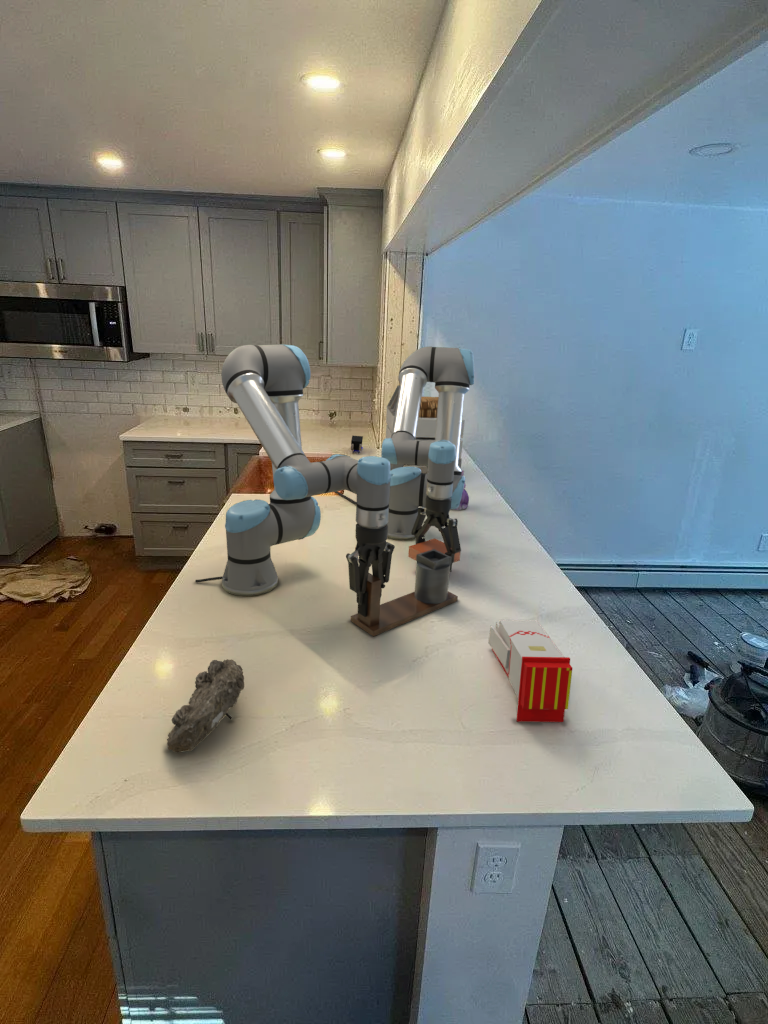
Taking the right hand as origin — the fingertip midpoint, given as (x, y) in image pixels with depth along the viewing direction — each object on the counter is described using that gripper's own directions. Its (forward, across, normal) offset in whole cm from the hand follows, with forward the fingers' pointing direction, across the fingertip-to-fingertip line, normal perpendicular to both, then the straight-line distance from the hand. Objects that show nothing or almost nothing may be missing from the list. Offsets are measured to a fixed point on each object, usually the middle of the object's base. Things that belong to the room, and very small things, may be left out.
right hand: (433, 565), depth 171 cm
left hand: (-2, +12, -35) cm, 37 cm away
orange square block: (-1, 0, 0) cm, 1 cm away
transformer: (+2, -82, +74) cm, 110 cm away
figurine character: (+2, -132, +74) cm, 151 cm away
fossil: (+2, +20, -80) cm, 82 cm away
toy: (+2, +49, -22) cm, 54 cm away
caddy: (+2, +12, -22) cm, 25 cm away
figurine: (+2, -37, +52) cm, 64 cm away
